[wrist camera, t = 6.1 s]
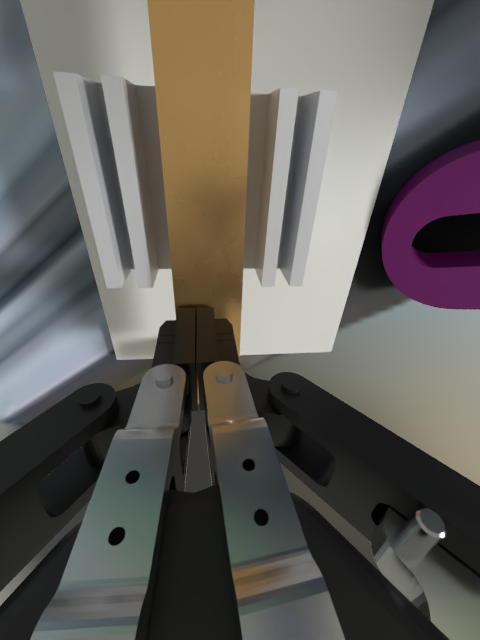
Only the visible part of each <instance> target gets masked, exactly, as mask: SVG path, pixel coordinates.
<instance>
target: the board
mask: <svg viewBox="0 0 480 640" xmlns="http://www.w3.org/2000/svg"><path fill="white" fill-rule="evenodd" d="M20 3H21V6H22V10H23V14H24V17H25V21H26V25H27V29H28V32H29V36H30V40H31V43H32V47H33V51H34V54H35V58H36V62H37V66H38V69H39V73H40V77H41V80H42V84H43V88H44V91H45V95H46V99H47V103H48V106H49V110H50V114H51V117H52V121H53V125H54V128H55V132H56V136H57V140H58V143H59V147H60V151H61V154H62V158H63V162H64V165H65V169H66V173H67V176H68V180H69V184H70V188H71V191H72V195H73V199H74V202H75V206H76V210H77V213H78V217H79V221H80V225H81V228H82V232H83V236H84V239H85V243H86V247H87V250H88V254H89V258H90V262H91V265H92V269H93V273H94V276H95V280H96V284H97V287H98V291H99V295H100V299H101V302H102V306H103V310H104V313H105V317H106V321H107V324H108V328H109V332H110V336H111V339H112V343H113V347H114V350H115V354H116V358H117V360H127V359H153V358H154V353H155V348H156V344H157V338H158V333H159V328H160V327H161V325H162V324H163V323H164V322H165V321H166V320H176V313H175V302H174V291H173V280H172V269H171V258H170V247H169V236H168V224H167V213H166V202H165V191H164V180H163V169H162V158H161V147H160V136H159V125H158V114H157V103H156V92H155V81H154V70H153V59H152V48H151V37H150V26H149V15H148V3H147V0H20ZM433 4H434V0H255V5H254V28H253V52H252V75H251V99H250V122H249V146H248V169H247V193H246V216H245V240H244V264H243V287H242V311H241V334H240V355H258V354H284V353H309V352H331V351H332V347H333V343H334V340H335V337H336V334H337V330H338V327H339V324H340V320H341V317H342V313H343V310H344V307H345V303H346V300H347V296H348V293H349V290H350V286H351V283H352V279H353V276H354V273H355V269H356V266H357V262H358V259H359V256H360V252H361V249H362V245H363V242H364V239H365V235H366V232H367V228H368V225H369V222H370V218H371V215H372V211H373V208H374V205H375V201H376V198H377V194H378V191H379V187H380V184H381V181H382V177H383V174H384V170H385V167H386V164H387V160H388V157H389V153H390V150H391V147H392V143H393V140H394V136H395V133H396V130H397V126H398V123H399V119H400V116H401V113H402V109H403V106H404V102H405V99H406V96H407V92H408V89H409V85H410V82H411V79H412V75H413V72H414V68H415V65H416V62H417V58H418V55H419V51H420V48H421V45H422V41H423V38H424V34H425V31H426V28H427V24H428V21H429V17H430V14H431V10H432V7H433ZM198 404H199V402H198Z"/></svg>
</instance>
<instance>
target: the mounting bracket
mask: <svg viewBox="0 0 480 640" xmlns="http://www.w3.org/2000/svg"><path fill="white" fill-rule="evenodd" d="M473 213H480V140H479V141H475V142H472V143H469V144H466V145H463V146H460V147H458V148H456V149H453V150H451V151H449V152H447V153H445V154H443V155H441V156H440V157H438V158H436V159H435V160H433V161H431V162H430V163H429V164H427V165H426V166H424V167H423V168H422V169H420V170H419V171H418V172H417V173H416V174H415V175H414V176H412V177H411V178H410V179H409V180H408V181H407V182H406V183H405V185H404V186H403V187H402V188H401V189H400V191H399V192H398V193H397V195H396V196H395V198H394V199H393V201H392V203H391V205H390V207H389V209H388V211H387V214H386V216H385V219H384V223H383V227H382V232H381V247H382V259H383V264H384V267H385V270H386V273H387V275H388V277H389V278H390V280H391V281H392V283H393V284H394V285H395V286H396V287H397V288H398V289H399V290H400V291H401V292H402V293H404V294H405V295H407V296H408V297H410V298H412V299H413V300H415V301H418V302H421V303H423V304H426V305H430V306H433V307H438V308H446V309H480V250H476V251H459V252H442V253H424V252H421V251H418V250H416V249H415V248H414V247H413V246H412V242H413V239H414V237H415V235H416V234H417V233H418V231H419V230H420V229H421V228H422V227H424V226H425V225H426V224H428V223H429V222H431V221H433V220H435V219H438V218H441V217H445V216H454V215H463V214H473Z"/></svg>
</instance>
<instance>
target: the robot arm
mask: <svg viewBox="0 0 480 640" xmlns="http://www.w3.org/2000/svg"><path fill="white" fill-rule="evenodd" d="M198 391H199V407H200V410H205V429H206V438H207V447H208V455H209V464H210V473H211V482H212V486H211V487H209V488H206V489H204V490H201V491H198V492H195V493H189V492H185V479H186V469H187V460H188V450H189V441H190V431H191V430H190V429H191V428H190V426H191V421H192V411H198ZM80 447H81V448H80ZM75 451H76V452H75ZM74 452H75V453H74ZM73 453H74V454H73ZM68 457H69V458H68ZM67 458H68V459H67ZM62 462H63V463H62ZM61 463H62V464H61ZM280 463H281V464H283V465H284V466H285V467H286V468H287V469H288V470H289V471H291V472H292V473H293V474H294V475H295V476H296V477H297V478H299V479H300V480H301V481H302V482H303V483H304V484H305V485H307V486H308V487H309V488H310V489H311V490H312V491H313V492H315V493H316V494H317V495H318V496H319V497H321V499H323V500H324V501H325V502H326V503H327V504H328V505H329V506H331V507H332V508H333V509H334V510H335V511H336V512H337V513H339V514H340V515H341V516H342V517H343V518H344V519H346V520H347V521H348V522H349V523H350V524H351V525H352V526H354V527H355V528H356V529H357V530H358V531H359V532H360V533H361V534H363V535H364V536H365V537H366V538H367V539H368V540H369V541H371V549H372V553H373V557H374V559H375V562H376V564H377V565H378V567H379V569H380V571H381V572H380V571H379V570H378V569H376V568H375V567H374V566H373V565H372V564H371V563H370V562H369V561H368V560H367V559H366V558H365V557H364V556H363V555H362V554H361V553H360V552H359V551H358V550H357V549H356V548H355V547H354V546H353V545H352V544H350V542H349V541H348V540H347V539H345V537H343V536H342V535H341V534H340V533H339V532H338V531H337V530H336V529H335V528H334V527H333V526H332V525H331V524H330V523H329V522H328V521H327V520H326V519H325V518H324V517H323V516H322V515H321V514H320V513H319V512H318V511H317V510H316V509H315V508H313V507H312V506H311V505H310V504H309V503H307V502H306V501H305V500H304V499H302V498H300V497H299V496H297V495H296V494H294V493H292V492H289V489H288V486H287V483H286V480H285V477H284V474H283V471H282V468H281V465H280ZM56 467H57V468H56ZM55 468H56V469H55ZM54 469H55V470H54ZM49 473H50V474H49ZM48 474H49V475H48ZM89 501H90V502H89ZM88 502H89V506H88V508H87V511H86V513H85V516H84V519H83V521H82V522H80V523H79V524H78V525H76V526H75V527H74V528H73V529H72V530H71V531H70V532H69V533H67V534H66V535H65V536H64V537H63V538H62V539H61V540H60V541H59V543H58V544H57V545H56V546H55V547H54V548H53V549H52V550H51V551H50V552H49V553H48V555H47V556H46V557H45V558H44V559H43V560H42V561H41V562H40V564H38V565H37V567H36V568H35V569H34V570H33V571H32V572H31V573H30V574H29V575H28V576H27V578H26V579H25V580H24V581H23V582H22V583H21V584H20V585H19V586H18V587H17V588H16V590H15V591H14V592H13V593H12V594H11V595H10V596H9V597H8V598H7V599H6V600H5V602H4V603H3V604H2V605H1V606H0V640H480V486H479V485H477V484H475V483H474V482H472V481H471V480H469V479H467V478H466V477H464V476H462V475H461V474H459V473H458V472H456V471H454V470H453V469H451V468H449V467H448V466H446V465H445V464H443V463H441V462H439V461H438V460H437V459H435V458H433V457H431V456H430V455H428V454H427V453H425V452H424V451H422V450H420V449H419V448H417V447H415V446H414V445H412V444H411V443H409V442H407V441H406V440H404V439H403V438H401V437H399V436H397V435H396V434H394V433H393V432H391V431H390V430H388V429H386V428H385V427H383V426H382V425H380V424H378V423H377V422H375V421H373V420H372V419H370V418H369V417H367V416H365V415H364V414H362V413H361V412H359V411H357V410H356V409H354V408H352V407H351V406H349V405H348V404H346V403H344V402H343V401H341V400H339V399H338V398H336V397H334V396H333V395H331V394H329V393H328V392H326V391H325V390H323V389H322V388H320V387H318V386H317V385H315V384H314V383H312V382H310V381H309V380H307V379H306V378H304V377H302V376H300V375H298V374H295V373H290V372H282V373H279V374H276V375H275V376H273V377H272V378H271V380H270V381H267V380H261V379H257V378H253V377H251V376H249V375H248V374H246V373H245V372H244V370H243V369H242V368H241V366H240V363H239V357H238V352H237V347H236V342H235V336H234V331H233V326H232V324H231V323H230V322H229V321H228V320H227V319H226V318H220V319H215V316H214V307H210V308H197V326H196V308H180V309H178V315H177V320H166V321H165V322H164V323H163V324H162V325H161V327H160V328H159V333H158V338H157V344H156V348H155V353H154V358H153V363H152V368H151V369H150V370H149V371H147V372H146V373H145V375H144V376H143V378H142V381H141V383H139V384H137V385H135V386H133V387H130V388H127V389H123V390H120V391H117V392H115V390H114V389H113V387H111V386H110V385H108V384H104V383H95V384H90V385H86V386H84V387H81V388H79V389H78V390H76V391H75V392H73V393H72V394H70V395H69V396H67V397H66V398H64V399H63V400H61V401H60V402H58V403H57V404H55V405H54V406H52V407H51V408H49V409H48V410H46V411H45V412H43V413H42V414H40V415H39V416H37V417H36V418H34V419H33V420H31V421H30V422H29V423H27V424H26V425H24V426H23V427H21V428H20V429H18V430H17V431H15V432H14V433H12V434H11V435H10V436H8V437H6V438H5V439H3V440H2V441H0V591H1V590H2V589H3V588H4V587H5V586H6V585H7V584H8V583H9V582H10V581H11V580H12V579H13V578H14V577H15V576H16V575H17V574H18V573H19V572H20V571H21V570H22V569H23V568H24V567H25V566H26V565H27V564H28V563H29V562H30V561H31V560H32V559H33V558H34V557H35V556H36V554H38V553H39V552H40V550H42V549H43V548H44V547H45V546H46V545H47V544H48V543H49V542H50V540H51V539H52V538H53V537H54V536H55V535H56V534H57V533H58V532H59V531H60V530H61V529H62V528H63V527H64V526H65V525H66V524H67V523H68V522H69V521H70V520H71V519H72V518H73V517H74V516H75V515H76V514H77V513H78V512H79V511H80V510H81V509H82V508H83V507H84V506H85V505H86V504H87V503H88Z"/></svg>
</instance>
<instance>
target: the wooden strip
mask: <svg viewBox="0 0 480 640" xmlns="http://www.w3.org/2000/svg"><path fill="white" fill-rule="evenodd" d="M147 3H148V15H149V26H150V37H151V48H152V59H153V70H154V81H155V92H156V103H157V114H158V125H159V136H160V147H161V158H162V169H163V180H164V191H165V202H166V213H167V224H168V236H169V247H170V258H171V269H172V280H173V291H174V302H175V313H176V320H177V315H178V309H180V308H196V326H197V308H210V307H214V316H215V319H220V318H226V319H227V320H228V321H229V322H230V323H231V324H232V326H233V331H234V336H235V342H236V347H237V352H238V357H239V358H240V334H241V311H242V287H243V264H244V240H245V216H246V193H247V169H248V146H249V122H250V99H251V75H252V52H253V28H254V5H255V0H147ZM198 402H199V391H198Z"/></svg>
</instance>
